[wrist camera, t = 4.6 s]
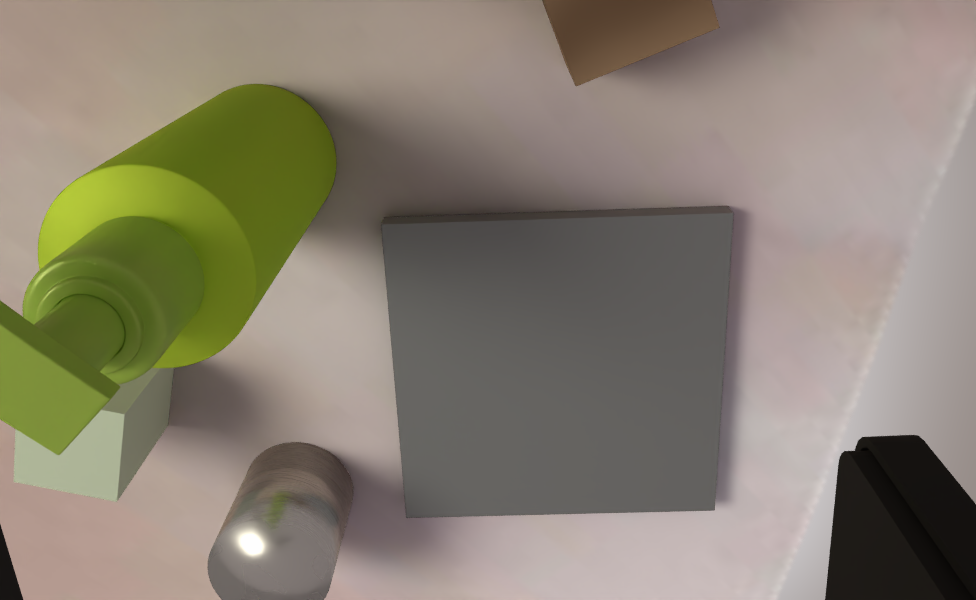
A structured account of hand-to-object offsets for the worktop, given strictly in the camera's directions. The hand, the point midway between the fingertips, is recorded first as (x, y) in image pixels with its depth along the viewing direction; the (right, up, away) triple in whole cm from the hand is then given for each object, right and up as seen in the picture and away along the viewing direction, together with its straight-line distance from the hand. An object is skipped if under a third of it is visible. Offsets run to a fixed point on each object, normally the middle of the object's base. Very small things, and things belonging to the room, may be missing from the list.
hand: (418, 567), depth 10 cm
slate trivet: (+4, 0, +30) cm, 30 cm away
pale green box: (-15, 0, +31) cm, 34 cm away
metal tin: (-8, -6, +33) cm, 34 cm away
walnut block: (+5, +15, +24) cm, 29 cm away
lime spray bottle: (-9, +9, +27) cm, 30 cm away
